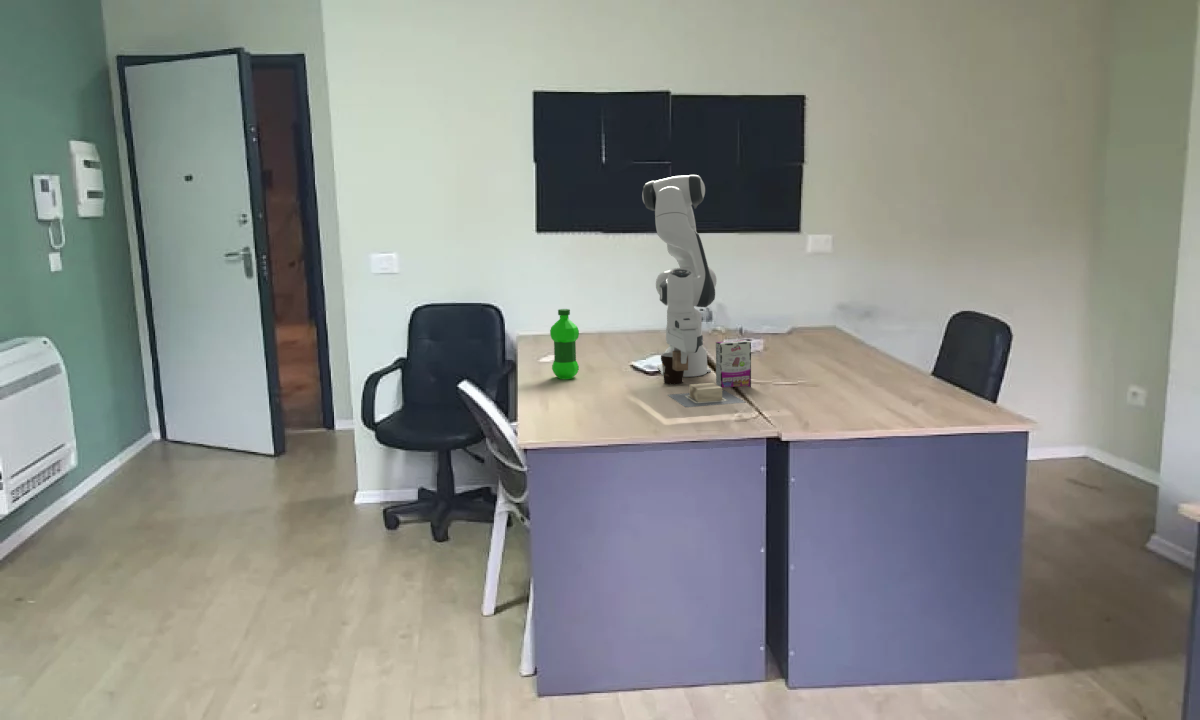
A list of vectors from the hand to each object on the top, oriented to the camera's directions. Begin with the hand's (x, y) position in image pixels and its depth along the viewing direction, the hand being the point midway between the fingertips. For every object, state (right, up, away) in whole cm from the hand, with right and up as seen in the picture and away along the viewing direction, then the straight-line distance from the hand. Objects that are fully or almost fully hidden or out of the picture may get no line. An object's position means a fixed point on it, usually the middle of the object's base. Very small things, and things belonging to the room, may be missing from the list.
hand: (680, 361), depth 308 cm
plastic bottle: (-39, -6, +33) cm, 51 cm away
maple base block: (+7, -12, -10) cm, 17 cm away
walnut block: (0, -3, +1) cm, 3 cm away
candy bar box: (+19, -10, +10) cm, 23 cm away
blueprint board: (+7, -13, -9) cm, 18 cm away
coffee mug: (0, -7, +23) cm, 24 cm away
